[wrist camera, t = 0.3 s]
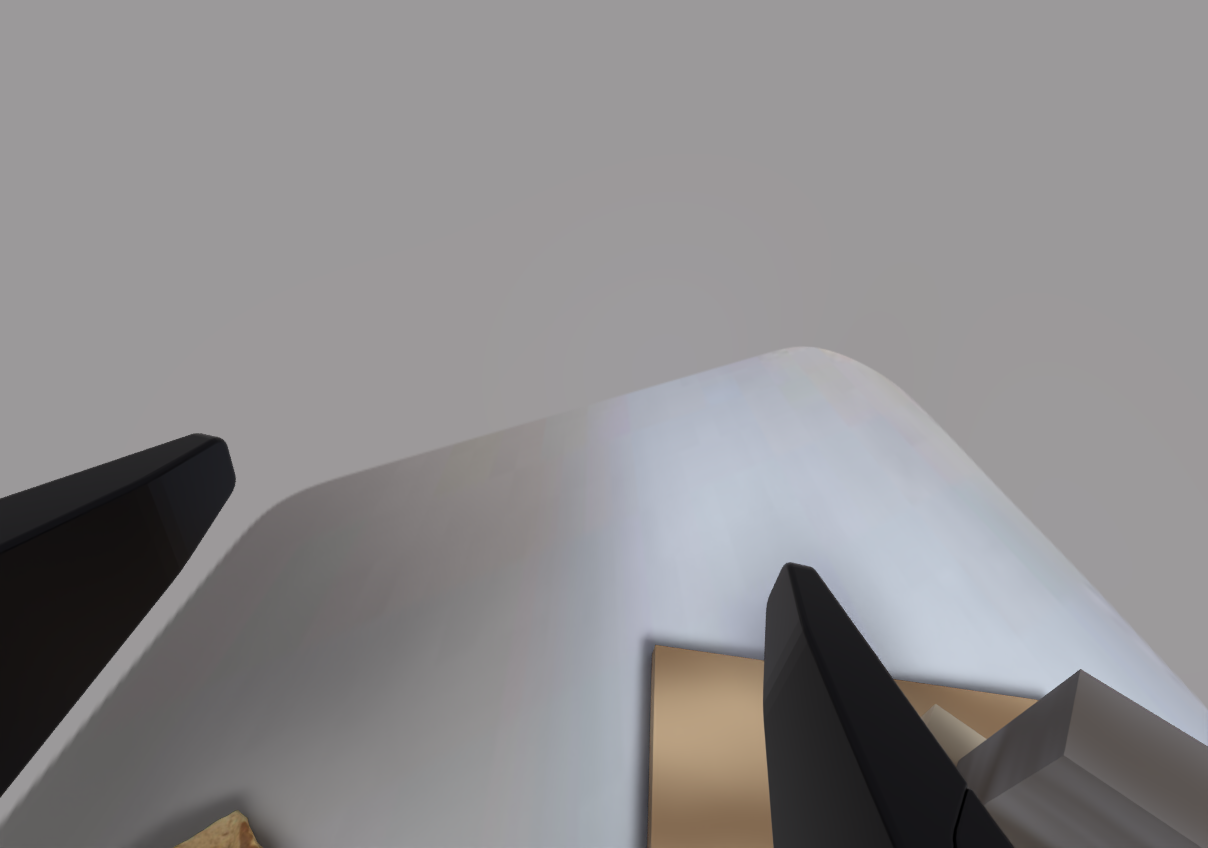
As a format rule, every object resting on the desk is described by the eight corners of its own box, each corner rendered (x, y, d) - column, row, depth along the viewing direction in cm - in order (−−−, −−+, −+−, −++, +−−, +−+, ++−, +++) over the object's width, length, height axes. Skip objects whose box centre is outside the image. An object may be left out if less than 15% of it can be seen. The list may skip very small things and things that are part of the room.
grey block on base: (1039, 1031, 18) (1313, 990, 12) (849, 867, 20) (997, 767, 14) (1070, 849, 21) (1288, 750, 16) (906, 730, 24) (1041, 606, 18)
